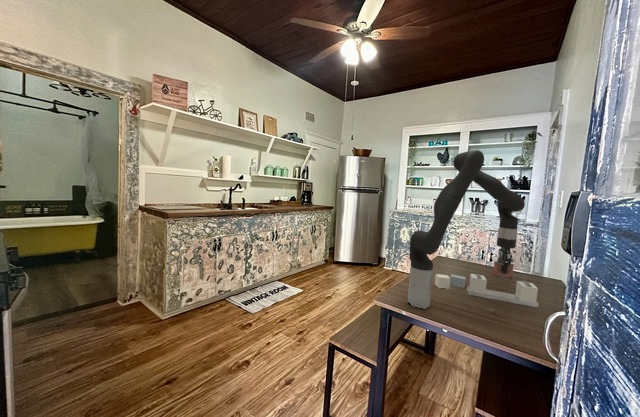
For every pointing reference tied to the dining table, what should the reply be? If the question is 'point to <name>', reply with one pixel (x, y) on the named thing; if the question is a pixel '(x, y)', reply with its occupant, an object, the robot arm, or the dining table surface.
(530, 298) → the mounted modules
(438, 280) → the block
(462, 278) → the block
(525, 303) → the rail
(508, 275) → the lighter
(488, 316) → the dining table surface
